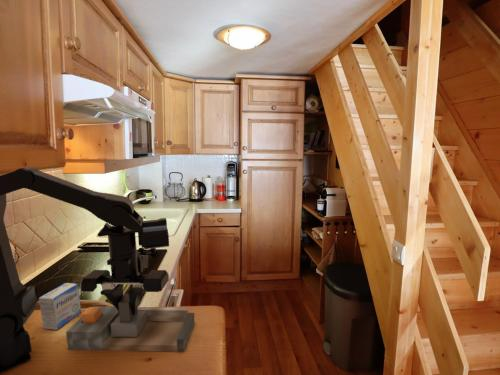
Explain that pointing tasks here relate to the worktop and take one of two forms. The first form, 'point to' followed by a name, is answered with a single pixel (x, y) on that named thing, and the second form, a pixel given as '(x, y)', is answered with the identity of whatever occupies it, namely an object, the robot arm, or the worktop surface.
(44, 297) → the medicine box
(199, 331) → the worktop surface
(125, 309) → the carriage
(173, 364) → the worktop surface
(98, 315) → the button
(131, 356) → the worktop surface
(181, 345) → the rail
